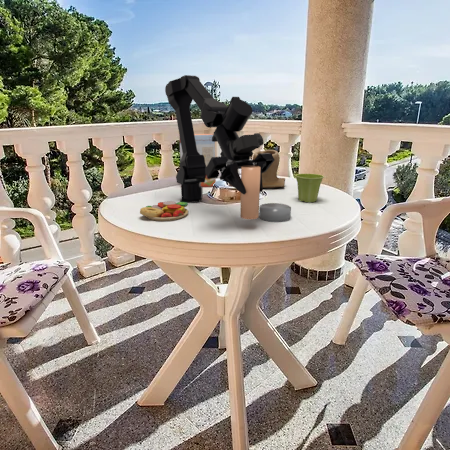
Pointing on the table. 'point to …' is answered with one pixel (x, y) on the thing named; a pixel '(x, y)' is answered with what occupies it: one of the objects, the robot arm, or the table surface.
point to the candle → (250, 192)
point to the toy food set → (165, 211)
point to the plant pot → (308, 186)
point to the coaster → (274, 212)
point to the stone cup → (271, 171)
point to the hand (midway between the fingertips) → (253, 192)
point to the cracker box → (204, 153)
